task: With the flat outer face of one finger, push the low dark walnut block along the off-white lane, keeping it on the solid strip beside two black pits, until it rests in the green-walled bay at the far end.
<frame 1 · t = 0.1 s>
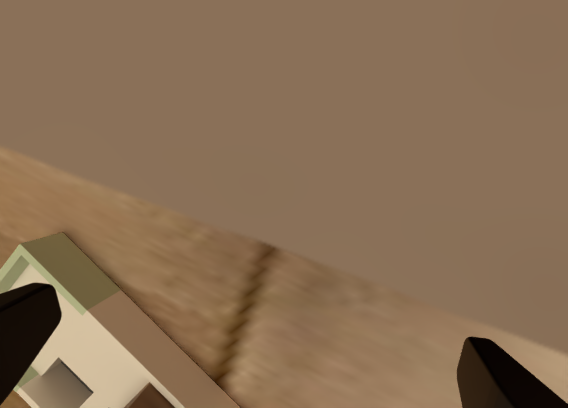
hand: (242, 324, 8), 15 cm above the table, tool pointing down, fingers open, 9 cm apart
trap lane: (135, 374, 26), on the table
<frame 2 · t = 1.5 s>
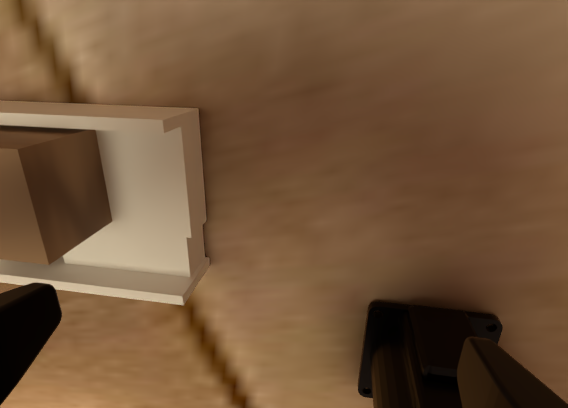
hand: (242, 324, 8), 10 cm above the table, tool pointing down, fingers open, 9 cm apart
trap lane: (15, 179, 20), on the table
walnut block: (46, 172, 17), point 2 cm above the table, touching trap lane
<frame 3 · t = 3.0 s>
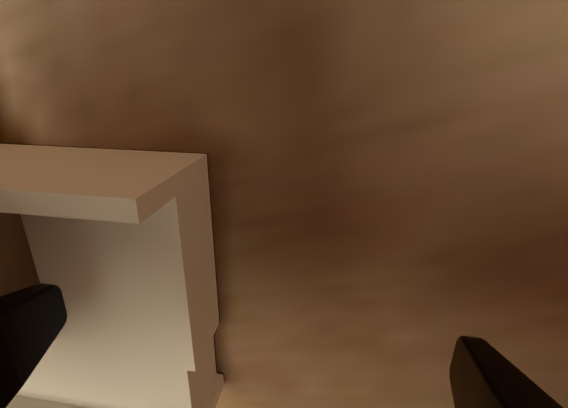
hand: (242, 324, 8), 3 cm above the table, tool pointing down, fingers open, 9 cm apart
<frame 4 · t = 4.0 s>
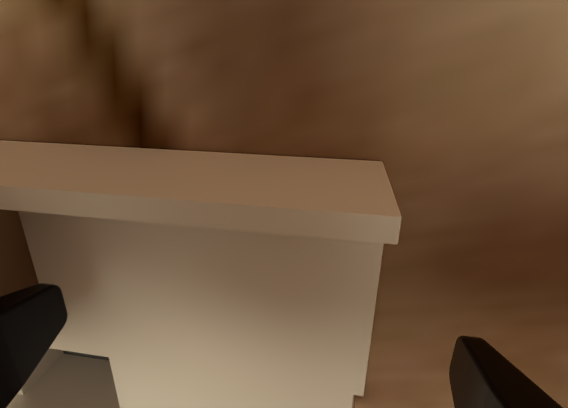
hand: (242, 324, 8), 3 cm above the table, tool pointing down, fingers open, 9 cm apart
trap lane: (37, 263, 12), on the table
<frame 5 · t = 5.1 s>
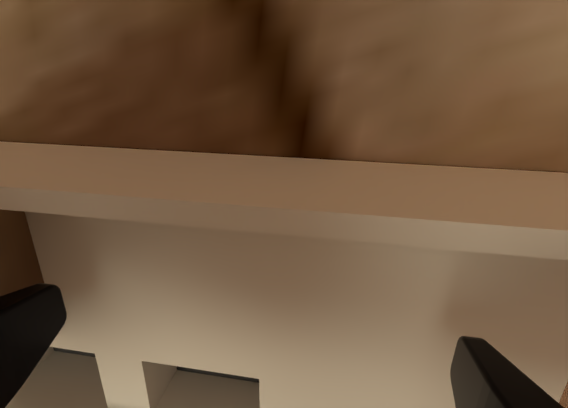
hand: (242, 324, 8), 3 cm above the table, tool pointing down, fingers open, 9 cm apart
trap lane: (161, 277, 12), on the table
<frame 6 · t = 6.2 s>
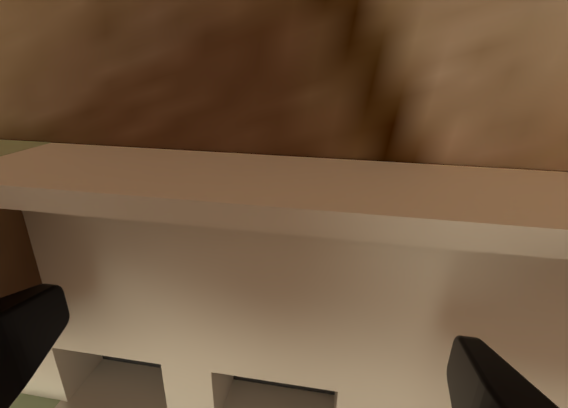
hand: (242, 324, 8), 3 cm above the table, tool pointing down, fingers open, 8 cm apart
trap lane: (223, 284, 11), on the table
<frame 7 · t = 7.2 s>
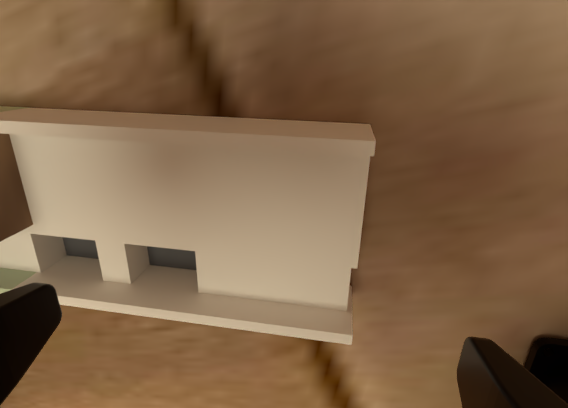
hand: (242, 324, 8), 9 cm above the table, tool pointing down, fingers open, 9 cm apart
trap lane: (138, 198, 18), on the table
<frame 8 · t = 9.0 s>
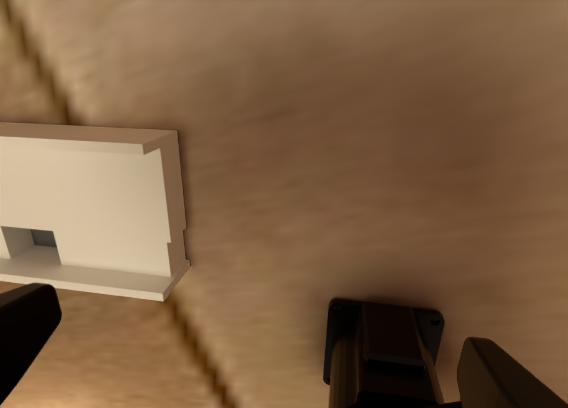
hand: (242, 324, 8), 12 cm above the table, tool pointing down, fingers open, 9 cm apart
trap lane: (18, 190, 22), on the table
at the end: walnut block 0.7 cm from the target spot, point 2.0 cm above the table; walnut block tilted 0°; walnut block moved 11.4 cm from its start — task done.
